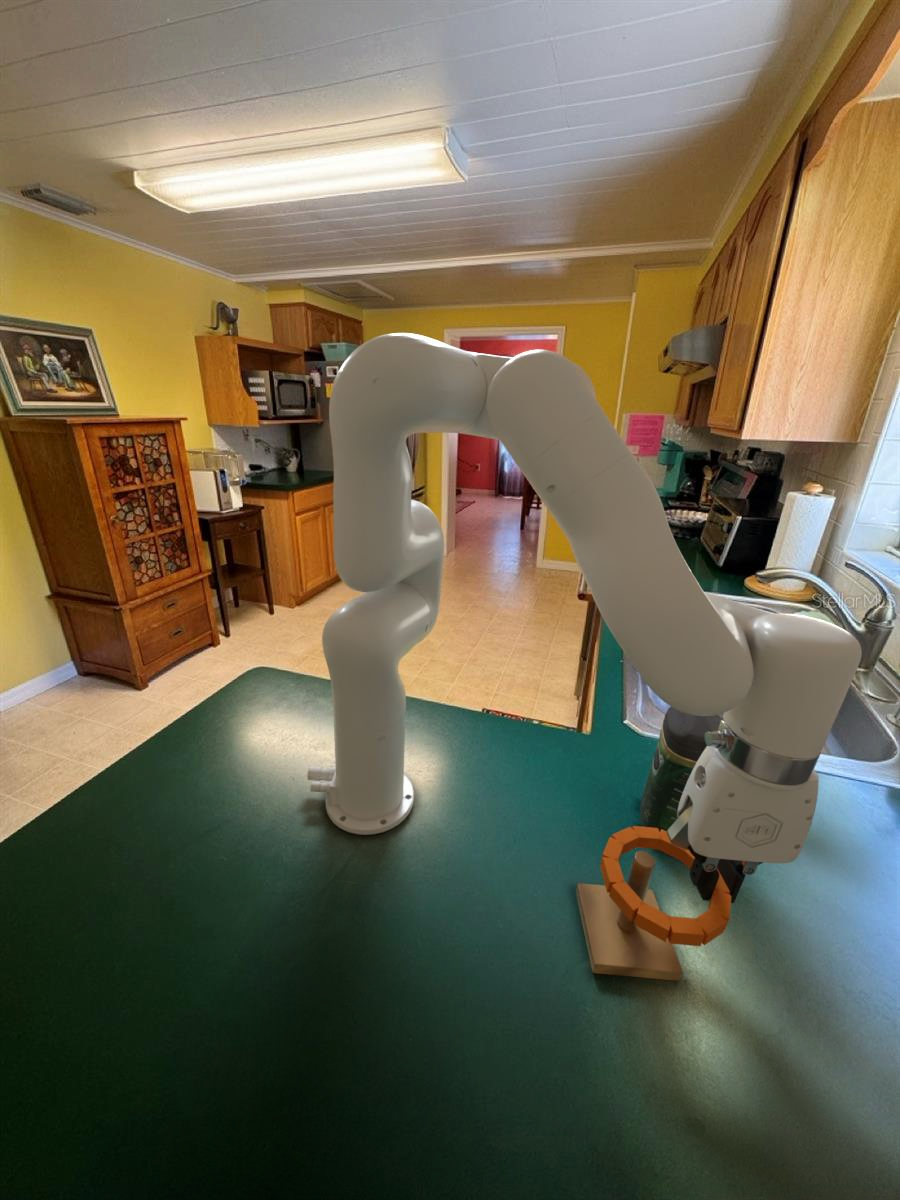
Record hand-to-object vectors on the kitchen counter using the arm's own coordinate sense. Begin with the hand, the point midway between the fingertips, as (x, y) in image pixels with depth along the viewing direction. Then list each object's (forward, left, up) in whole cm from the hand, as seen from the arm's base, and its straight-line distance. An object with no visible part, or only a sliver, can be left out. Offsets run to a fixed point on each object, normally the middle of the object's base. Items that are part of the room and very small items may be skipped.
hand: (711, 888), depth 50 cm
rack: (-8, 0, -8) cm, 11 cm away
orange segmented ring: (-5, 0, 0) cm, 5 cm away
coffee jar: (+3, +16, -8) cm, 18 cm away
